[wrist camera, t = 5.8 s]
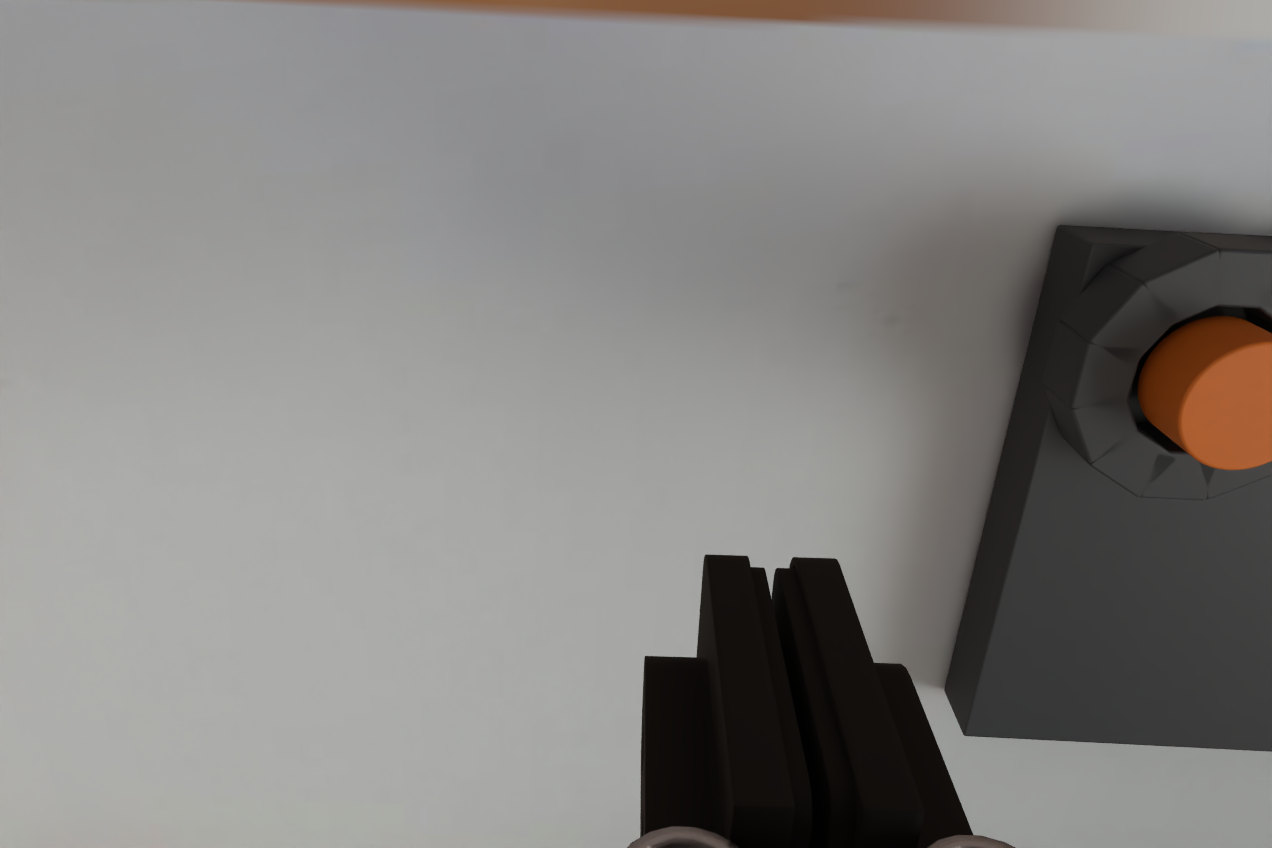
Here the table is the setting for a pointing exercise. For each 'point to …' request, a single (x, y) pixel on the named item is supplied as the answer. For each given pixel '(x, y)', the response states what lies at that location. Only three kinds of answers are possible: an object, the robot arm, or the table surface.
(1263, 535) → the scale
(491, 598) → the table surface
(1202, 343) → the button
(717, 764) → the robot arm
